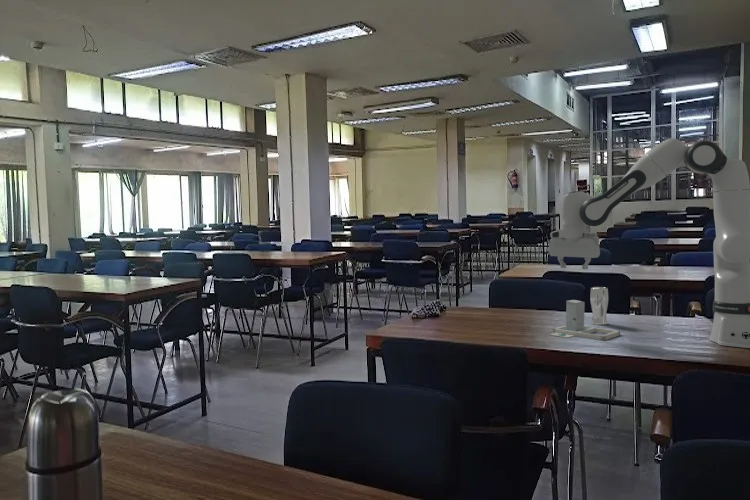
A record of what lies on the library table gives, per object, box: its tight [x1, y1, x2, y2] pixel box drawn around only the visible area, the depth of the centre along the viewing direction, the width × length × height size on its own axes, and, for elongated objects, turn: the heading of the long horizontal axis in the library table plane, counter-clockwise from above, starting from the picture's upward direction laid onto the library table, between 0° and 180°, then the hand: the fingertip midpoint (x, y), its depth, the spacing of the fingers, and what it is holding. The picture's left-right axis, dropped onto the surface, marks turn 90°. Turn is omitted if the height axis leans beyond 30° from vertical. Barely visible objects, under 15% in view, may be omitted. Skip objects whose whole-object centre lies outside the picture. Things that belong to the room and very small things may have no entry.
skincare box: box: [565, 299, 586, 332], centre depth 231 cm, size 6×4×12 cm
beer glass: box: [589, 286, 609, 326], centre depth 246 cm, size 7×7×15 cm
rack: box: [549, 324, 621, 341], centre depth 227 cm, size 21×17×2 cm
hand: (574, 268), depth 230 cm, fingers open, 8 cm apart
